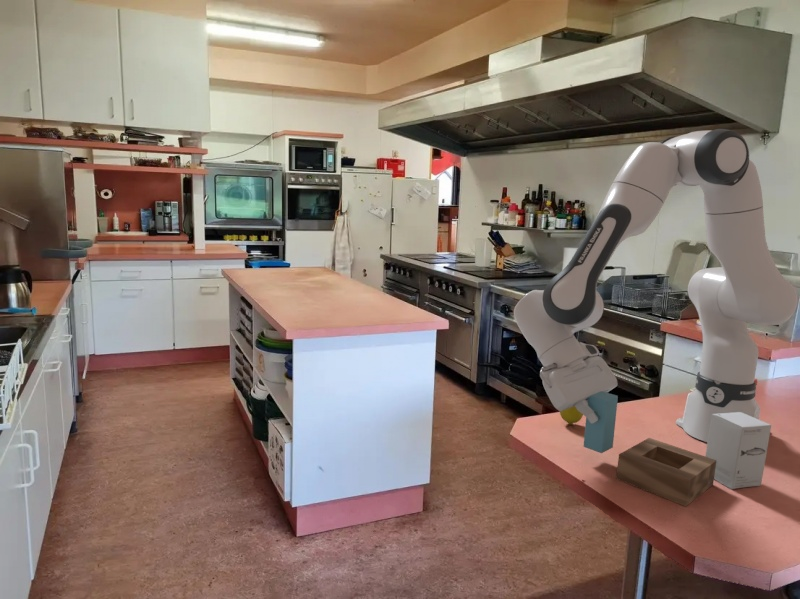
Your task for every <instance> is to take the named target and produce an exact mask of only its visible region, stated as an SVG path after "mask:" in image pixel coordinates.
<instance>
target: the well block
mask: <svg viewBox="0 0 800 599" xmlns="http://www.w3.org/2000/svg"><path fill="white" fill-rule="evenodd" d="M705 456H706V455H702V454H698V453H696V452H693V451H690V450H686V449H683V448H682V447H678V446H674V445H672V444H669V443H666V442H663V441H659V440H657V439H654V438H651V437H648V438H647V439H645V440H642V441H640V442H639V443H637V444H636V445H633V446H631V447H630V448H628V449H626V450H625V451H622V452H620V453H619V454H618V459H617V460H618V461H617V469H616V476H615V479H616V480H618V481H620V482H624V483H626V484H628V485H631V486H634V487H637V488H638V489H641V490H643V491H646V492H647V493H651V494H654V495H656V496H658V497H661V498H663V499H665V500H669V501H670V502H673V503H676V504H679V505H681V506H683V507H686V508H687V507H688V506H689V505H690V504H691V503H692V502H694V501H695V500H696V499H697V498H699V497H700V496H701V495H702V494H704V493H705V492H706V491H707V490H708V489H710V488H711V487H712V486H714V481H715V479H714V475H715V468H716V462H717V460H714V459H711V458H708V457H705Z"/></svg>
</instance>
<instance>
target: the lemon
mask: <svg viewBox="0 0 800 599" xmlns="http://www.w3.org/2000/svg"><path fill="white" fill-rule="evenodd" d="M559 415H560V416H561V418H562V419H563V421H564V422H566V423H567V424H568V425H570V426H572V425H573V424H576V423H578V422H580V421H581V420H582V418H583V417H584V415H583V414H582V413H580V412H579V411H578V410H577V409H576V407H575V406H573V407H571V408H568V409H566V410H563V411H559Z"/></svg>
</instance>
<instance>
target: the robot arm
mask: <svg viewBox="0 0 800 599" xmlns="http://www.w3.org/2000/svg"><path fill="white" fill-rule="evenodd" d="M675 186H684V187H697V186H699V187H700V189H701V190H702V192H703V199H704V200H703V207H704V208H703V209H704V223H705V234H706V235H705V236H706V245H707V247H708V250H709V251H710V252H711V253H712V254H713V255H714V256H715V257H716V259H717V260H718V262H719V263H720V266H718V267H708V268H707V267H706V268H702V269H700V270H697V271H696V272H695V273H694V274H692V276H691V278H690V280H689V281H688V284H687V294H688V295H687V296H688V298H689V300H690V301H691V303H692V304H693V305H694V307H695V309H696V311H697V314H698V318H699V321H700V323H699V324H700V328H701V332H702V333H701V334H702V348H701V350H702V351H701V359H700V367H699V372H697V373H696V374H697V375H696V377H695V386H694V387H695V389H694V390H692V391H690V392H688V394H687V398H686V401H685V407H684V411H683V416H682V417H679V418H677V419H676V420H675V424H676V425H677V426H679V427H681V429H683V430H684V432H685V433H686V434H688V435H689V436H691V437H693V438H695V439H696V440H700V441H702V442H705V443H708V436H709V430H710V423H711V417H712V414H719V413H733V412H742V413H744V414H747V415H749V416H752V417H754V418H756V419H759V420H760V413H761V407H760V405H759V403H758V402H757V401H756V399H755V398H756V392H757V385H758V379H757V378H756V373H757V365H758V360H759V353H760V352H759V347H758V344H757V342H755V340H754V339H753V338H752V337H751V334H750V333H749V330H748V326H747V324H751V325H759V326H779V325H782V324H784V323H786V322H787V321H789V319H791V317H792V316H793V315H794V313H795V311H796V310H797V307H798V292H797V290H796V288H795V287H794V286H793V285H792V284H791V283H790V282H789V281H788V280H787V279H786V278H785V277H784V276H783V275H782V273H781V272H780V271H779V269H778V267H777V265H776V263H775V261H774V259H773V257H772V255H771V253H770V252H771V251H770V250H769V247H768V243H767V237H766V231H765V230H766V228H765V220H764V219H765V218H764V217H765V216H764V215H765V214H764V202H763V193H762V186H761V181H760V177H759V174H758V171H757V167H756V165H755V163H754V162H753V161H752V160H750V150H749V147H748V144H747V141H746V139H745V138H744V136H742V135H741V133H740V132H737V131H735V130H732V129H731V130H730V129H727V128H726V129H725V128H715V129H713V130H696V131H691V132H689V133H685V134H682V135H678V136H677V135H676V136H671V137H668V138H666V139H664V140H662V141H661V142H656V141H649V142H643V143H641V144H640V145H639V146H637V147H636V148H635V149H634V150H633V151H632V153H631V154H630V155H629V157H627V159H626V160H625V162H624V164H623V165H622V167H621V168H620V169H619V171H618V173H617V175H616V176H615V178H614V180H613V181H612V184H611V185H610V187H609V189H608V191H607V193H606V194H605V197H604V199H603V202H602V203H601V206H600V208H599V211H598V213H597V214H596V217H595V219H594V221H593V222H592V224H591V225H590V227H589V229H588V230H587V232H586V234H585V236H584V237H583V239H582V241H581V242H580V244H579V246H578V247H577V249H576V250H575V253H574V254H573V256H572V257H571V259H570V261H569V262H568V264H567V265H566V266H565V267H564V268H563V269H562V270H561V271H560V272H558V273H557V274H556V275H555V276H553V277H552V278H551V279H550V281H548V283H547V284H546V286H545V287H544V289H533V290H531V291H528V292H527V293H525V294H524V295H523V296H522V297H521V298H520V299H518V301H517V302H516V305H515V306H514V308H513V317H514V319H515V322H516V325H517V326H518V328H519V330H520V332H521V333H522V335H523V337H524V338H525V339H526V341H527V343H528V344H529V345H531V347H532V348H533V349H534V350H535V352H536V355H537V358H538V360H539V361H540V362H541V364H542V367H541V368H540V371H539V377H540V379H541V380H542V385H543V388H544V390H545V392H546V395H547V397H548V398H549V401H550V402H551V404H552V406H553V407H554V408H555V409H556V410H558V411H559V412H560V411H563V410H566V409H568V408H571V407H573V406H575V407H576V409H577V410H578V411H579V412H580V413H582V414H583V417H585V418H586V417H587V419H588V420H589V422H590V423H591V424H593V423H595V422H597V421H598V420H600V419H601V418H600V416H599V415H598V413H597V411H595V412H594V411H593V410H592V409H591V408H590V407H589V406H588V398H589V397H590V396H591V395H593V394H596V393H598V392H601V391H602V392H606V393H609V392H610V391H612V390H613V389H615V388H616V387H617V386H618V384H619V383H618V379H617V377H616V376H615V374H614V373H613V371H612V369H611V368H610V366H609V365H608V364H607V362H606V361H605V359H603V358H602V357H601V356H599V354H600V351H599V349H598V348H597V347H596V346H595V345H593V344H587V343H584V342H581V341H578V339H577V338H576V337H575V335H574V334H575V333H578V332H580V331H583V330H585V329H589V328H590V327H592V326H594V325H595V324H597V323H598V322H599V321H600V319H601V318H602V317H603V314H604V312H605V302H604V300H603V297H602V295H601V294H600V293H599V291H598V290H597V284H598V281H599V280H600V277H601V276H602V273H603V272H604V271H605V269H606V267H607V265H608V263H609V262H610V260H611V259H612V256H613V254H614V253H615V251H616V249H617V248H618V247H619V246H620V245H621V244H622V242H624V241H625V240H626V239H628V238H629V239H630V238H631V237H637V236H638V235H640V234H641V235H642V234H643V233H645V232H646V231H647V230H648V228H649V227H650V226H651V224H653V222H654V220H655V219H656V218H657V216H658V214H659V213H660V211H661V209H662V208H663V206H664V203H665V202H666V200H667V197H668V196H669V193H670V191H671V190H672V189H673V187H675Z"/></svg>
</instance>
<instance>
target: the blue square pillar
mask: <svg viewBox="0 0 800 599" xmlns="http://www.w3.org/2000/svg"><path fill="white" fill-rule="evenodd" d="M618 396H619V395H616V394H612V393H609V392H607V393H606V392H602V391H601V392H598V393H596V394H593V395H591V396H590V397H589V398H588V401H587V402H588V406H589V407H590V408H591V409H592V410H593V411H594V412H595V411H597V413H598V415H599V416H600V418H601V419H600V420H598V421H597V422H595V423H593V424H591V423H590V422H589V420H588V419H587V417H586V416H585V418H586V419H585V427H584V435H583V436H584V438H583V445H582V446H583V448H586V449H589V450H592V451H594V452H597V453H600V454H603V453H605V452H607V451H608V450H611V449H613V447H614V438H615V430H616V429H615V428H616V419H617V410H618V409H617V408H618V401H619V400H618V398H619V397H618Z"/></svg>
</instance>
